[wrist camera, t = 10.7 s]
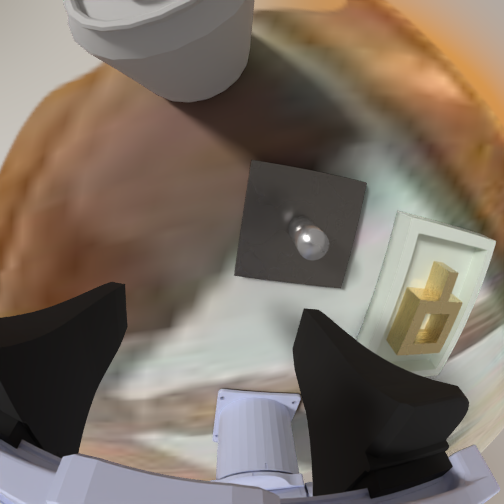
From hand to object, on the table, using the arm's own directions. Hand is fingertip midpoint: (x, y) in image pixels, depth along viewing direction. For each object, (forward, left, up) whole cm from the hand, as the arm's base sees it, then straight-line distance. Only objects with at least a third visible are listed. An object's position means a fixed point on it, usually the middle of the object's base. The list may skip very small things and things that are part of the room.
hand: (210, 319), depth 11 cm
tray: (-3, -18, -10) cm, 21 cm away
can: (+13, +4, -10) cm, 17 cm away
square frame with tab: (-3, -18, -9) cm, 20 cm away
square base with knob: (+2, -5, -10) cm, 11 cm away
